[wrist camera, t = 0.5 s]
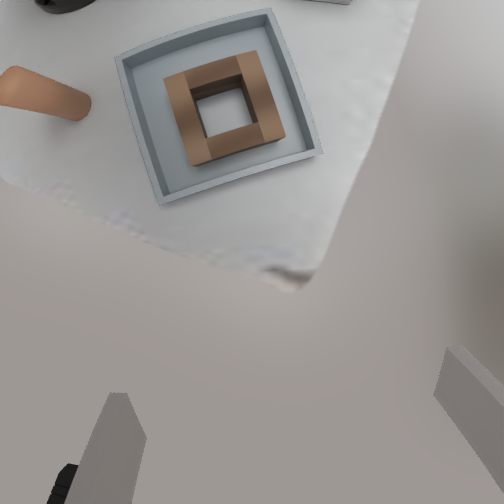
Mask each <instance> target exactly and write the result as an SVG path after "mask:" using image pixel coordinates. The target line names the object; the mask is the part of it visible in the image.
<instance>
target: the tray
mask: <svg viewBox="0 0 504 504" xmlns="http://www.w3.org/2000/svg"><path fill="white" fill-rule="evenodd" d="M253 50H257V53H258V56H259V59H260V61H261V64H262V67H263V70H264V72H265V75H266V78H267V81H268V84H269V86H270V89H271V92H272V95H273V98H274V101H275V104H276V107H277V110H278V113H279V116H280V119H281V122H282V125H283V128H284V131H285V134H286V137H285V138H283V139H281V140H279V141H277V142H273V143H270V144H267V145H263V146H260V147H256V148H253V149H250V150H246V151H243V152H240V153H237V154H234V155H231V156H227V157H224V158H221V159H218V160H215V161H212V162H209V163H206V164H203V165H200V166H191V165H190V162H189V159H188V156H187V153H186V150H185V147H184V144H183V141H182V138H181V135H180V132H179V129H178V125H177V122H176V119H175V116H174V113H173V110H172V106H171V103H170V100H169V97H168V94H167V90H166V87H165V84H164V81H163V79H164V78H166V77H169V76H172V75H174V74H177V73H180V72H183V71H185V70H188V69H191V68H194V67H197V66H200V65H204V64H207V63H210V62H213V61H216V60H220V59H223V58H227V57H230V56H234V55H238V54H242V53H245V52H249V51H253ZM114 58H115V62H116V66H117V70H118V73H119V77H120V81H121V85H122V88H123V92H124V96H125V99H126V103H127V106H128V110H129V113H130V117H131V120H132V123H133V127H134V130H135V133H136V137H137V140H138V143H139V146H140V150H141V153H142V156H143V159H144V162H145V165H146V168H147V171H148V174H149V177H150V180H151V183H152V186H153V189H154V192H155V195H156V198H157V201H158V204H159V206H160V205H163V204H165V203H168V202H171V201H174V200H177V199H179V198H182V197H185V196H188V195H191V194H193V193H196V192H199V191H202V190H205V189H208V188H211V187H214V186H217V185H220V184H223V183H226V182H229V181H232V180H235V179H238V178H242V177H245V176H248V175H251V174H254V173H258V172H261V171H264V170H267V169H271V168H274V167H277V166H281V165H284V164H288V163H291V162H295V161H298V160H302V159H305V158H309V157H313V156H316V155H320V154H324V153H323V150H322V146H321V143H320V140H319V137H318V133H317V130H316V127H315V124H314V121H313V118H312V115H311V111H310V108H309V105H308V102H307V100H306V97H305V94H304V91H303V88H302V85H301V82H300V79H299V77H298V74H297V71H296V68H295V66H294V63H293V60H292V58H291V55H290V53H289V50H288V47H287V45H286V42H285V40H284V37H283V35H282V32H281V30H280V27H279V25H278V23H277V20H276V18H275V15H274V13H273V11H272V8H266V9H260V10H255V11H251V12H246V13H242V14H237V15H233V16H229V17H225V18H221V19H218V20H214V21H211V22H207V23H204V24H200V25H197V26H194V27H191V28H188V29H185V30H182V31H179V32H176V33H173V34H170V35H167V36H164V37H162V38H159V39H157V40H154V41H151V42H149V43H146V44H144V45H141V46H139V47H137V48H134V49H132V50H130V51H127V52H125V53H123V54H121V55H119V56H116V57H114ZM196 103H197V106H198V109H199V112H200V115H201V118H202V121H203V124H204V127H205V130H206V133H207V136H208V137H211V136H214V135H217V134H221V133H224V132H227V131H230V130H233V129H236V128H240V127H243V126H246V125H250V124H253V122H252V119H251V116H250V113H249V110H248V107H247V104H246V101H245V98H244V96H243V93H242V90H241V87H239V88H236V89H233V90H229V91H226V92H223V93H219V94H216V95H213V96H210V97H207V98H204V99H201V100H198V101H196Z"/></svg>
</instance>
